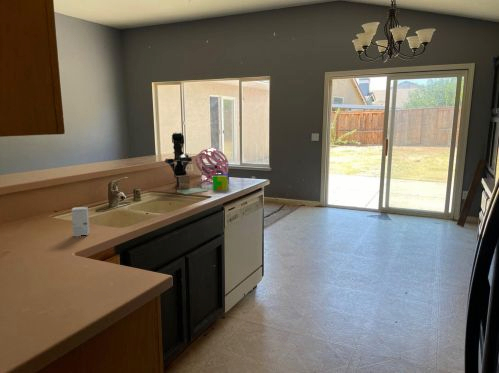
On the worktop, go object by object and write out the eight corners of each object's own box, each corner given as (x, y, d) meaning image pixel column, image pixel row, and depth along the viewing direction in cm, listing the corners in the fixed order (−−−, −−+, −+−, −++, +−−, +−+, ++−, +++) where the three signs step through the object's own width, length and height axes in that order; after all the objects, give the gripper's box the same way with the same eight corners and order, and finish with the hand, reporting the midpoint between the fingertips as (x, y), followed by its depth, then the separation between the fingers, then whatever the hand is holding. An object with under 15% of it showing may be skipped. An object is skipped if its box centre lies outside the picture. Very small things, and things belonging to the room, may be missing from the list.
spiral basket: (199, 160, 265) (220, 138, 279) (180, 166, 286) (200, 145, 300) (222, 188, 275) (241, 165, 290) (202, 192, 296) (220, 170, 311)
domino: (179, 189, 259) (178, 176, 257) (187, 188, 263) (187, 175, 261) (181, 190, 256) (180, 176, 254) (189, 189, 260) (189, 175, 258)
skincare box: (73, 237, 155) (70, 209, 153) (75, 233, 160) (72, 207, 158) (88, 235, 157) (85, 208, 155) (90, 232, 161) (88, 206, 159)
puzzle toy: (229, 187, 264) (228, 174, 262) (227, 190, 254) (226, 176, 252) (215, 187, 265) (215, 174, 263) (213, 190, 255) (212, 176, 253)
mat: (175, 191, 253) (175, 190, 252) (198, 188, 263) (198, 187, 263) (185, 194, 242) (185, 193, 242) (208, 191, 252) (208, 190, 252)
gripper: (171, 151, 248) (172, 174, 251) (195, 150, 259) (196, 171, 262) (164, 151, 257) (165, 172, 259) (187, 149, 268) (188, 170, 271)
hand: (179, 172), depth 263 cm, fingers open, 8 cm apart
